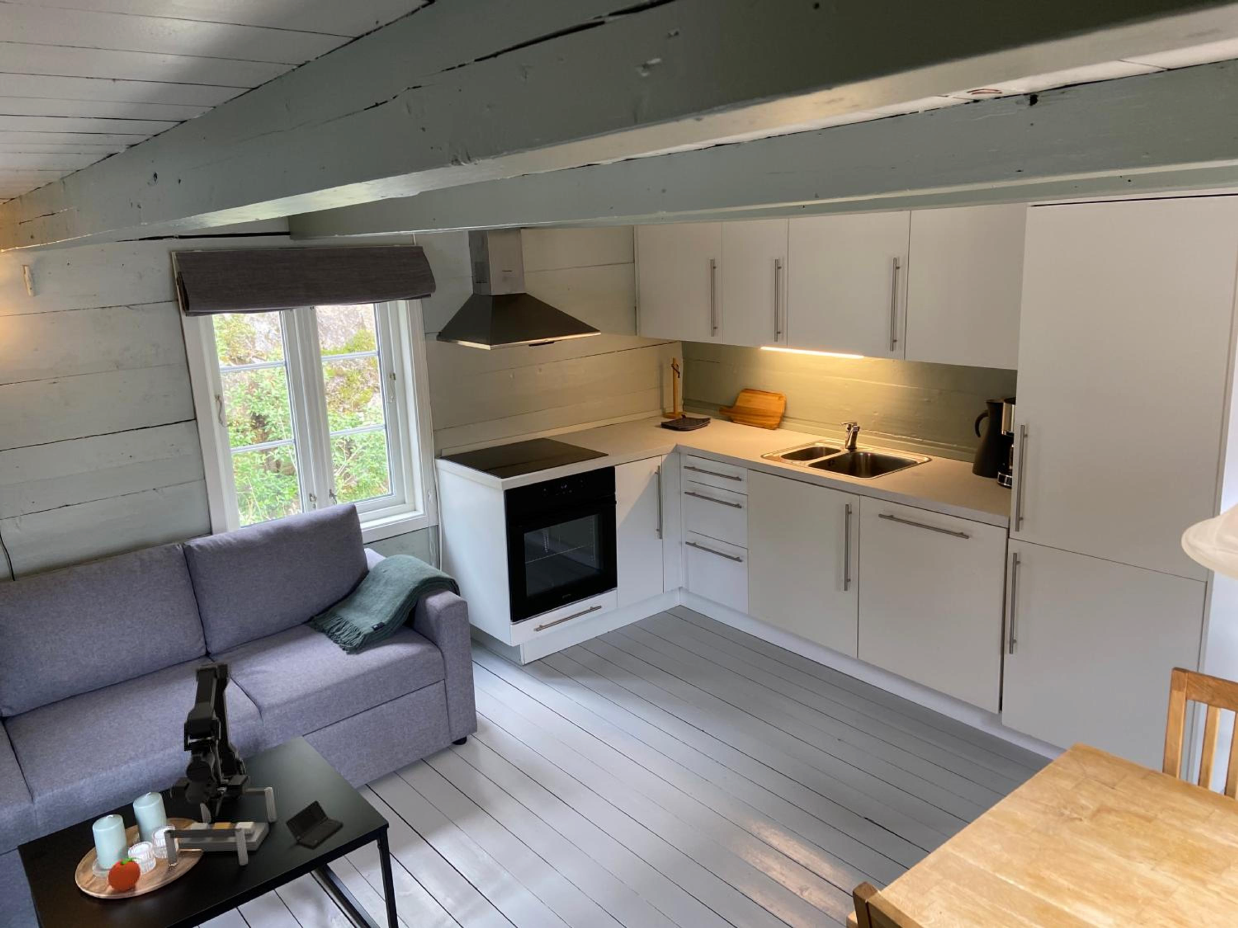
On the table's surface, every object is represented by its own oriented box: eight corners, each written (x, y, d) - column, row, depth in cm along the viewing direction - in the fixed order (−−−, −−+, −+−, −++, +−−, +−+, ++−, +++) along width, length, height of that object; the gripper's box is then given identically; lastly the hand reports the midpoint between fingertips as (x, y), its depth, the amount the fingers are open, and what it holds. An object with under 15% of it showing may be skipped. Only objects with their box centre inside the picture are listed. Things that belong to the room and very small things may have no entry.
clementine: (137, 871, 226) (133, 846, 225) (152, 881, 222) (147, 855, 221) (104, 890, 220) (100, 864, 218) (119, 900, 216) (114, 874, 214)
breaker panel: (194, 832, 241) (193, 824, 241) (268, 830, 241) (267, 822, 240) (179, 851, 233) (178, 842, 233) (256, 849, 233) (255, 841, 232)
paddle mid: (217, 829, 238) (215, 822, 236) (232, 828, 237) (230, 822, 236) (214, 835, 236) (212, 828, 235) (229, 835, 236) (227, 828, 234)
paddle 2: (240, 828, 237) (238, 822, 236) (255, 828, 237) (253, 821, 236) (237, 834, 236) (235, 828, 234) (252, 834, 235) (250, 828, 234)
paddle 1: (195, 829, 238) (192, 823, 237) (210, 829, 238) (207, 822, 236) (191, 835, 236) (189, 829, 235) (207, 835, 236) (204, 829, 235)
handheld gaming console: (320, 843, 232) (299, 810, 233) (302, 857, 234) (281, 824, 235) (347, 823, 242) (326, 791, 244) (329, 836, 245) (309, 805, 246)
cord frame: (205, 819, 247) (200, 788, 245) (277, 817, 246) (273, 786, 244) (167, 866, 228) (162, 833, 226) (246, 864, 227) (241, 832, 225)
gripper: (154, 779, 225) (164, 835, 228) (228, 777, 224) (237, 833, 227) (176, 755, 235) (185, 809, 239) (247, 753, 235) (255, 807, 238)
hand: (215, 815), depth 235 cm, fingers closed
